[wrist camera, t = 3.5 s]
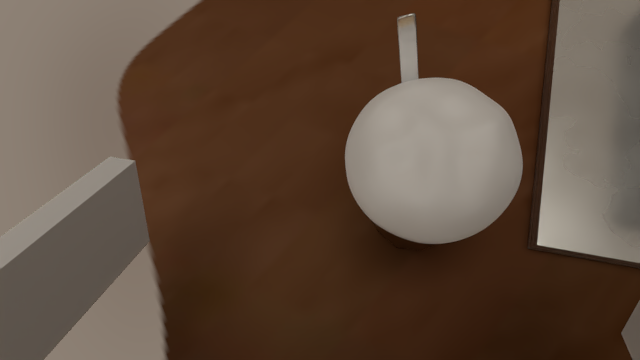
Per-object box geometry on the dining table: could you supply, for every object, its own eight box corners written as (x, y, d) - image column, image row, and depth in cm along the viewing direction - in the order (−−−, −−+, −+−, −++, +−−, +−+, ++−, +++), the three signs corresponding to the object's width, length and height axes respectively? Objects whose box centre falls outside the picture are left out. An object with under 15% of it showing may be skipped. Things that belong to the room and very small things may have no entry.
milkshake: (445, 136, 20) (501, -9, 11) (478, 254, 19) (577, 207, 9) (345, 158, 21) (315, 36, 11) (371, 276, 19) (361, 251, 10)
